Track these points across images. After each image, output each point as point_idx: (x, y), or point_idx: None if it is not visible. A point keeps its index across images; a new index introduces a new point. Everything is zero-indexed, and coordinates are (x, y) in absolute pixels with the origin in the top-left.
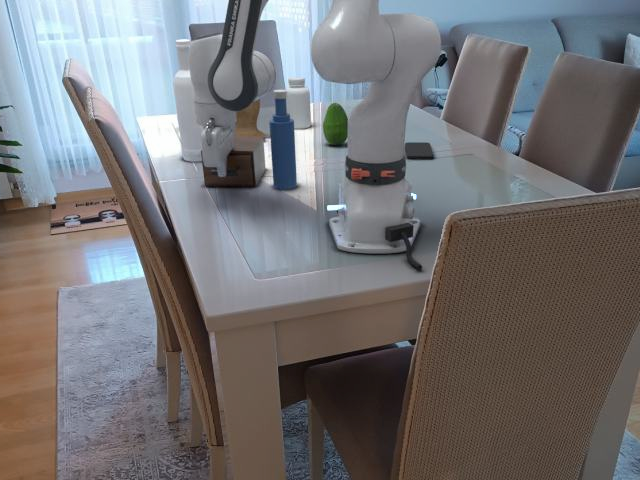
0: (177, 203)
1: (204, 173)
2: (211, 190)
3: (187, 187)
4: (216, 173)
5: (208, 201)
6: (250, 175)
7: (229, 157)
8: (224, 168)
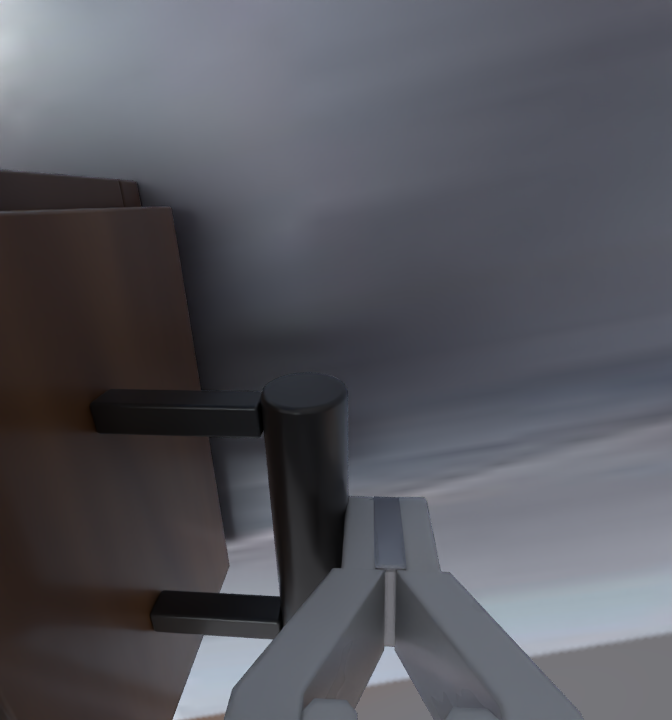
0: (550, 632)
1: None
2: None
3: None
4: None
5: (538, 488)
6: (117, 225)
7: (3, 636)
8: (468, 593)
